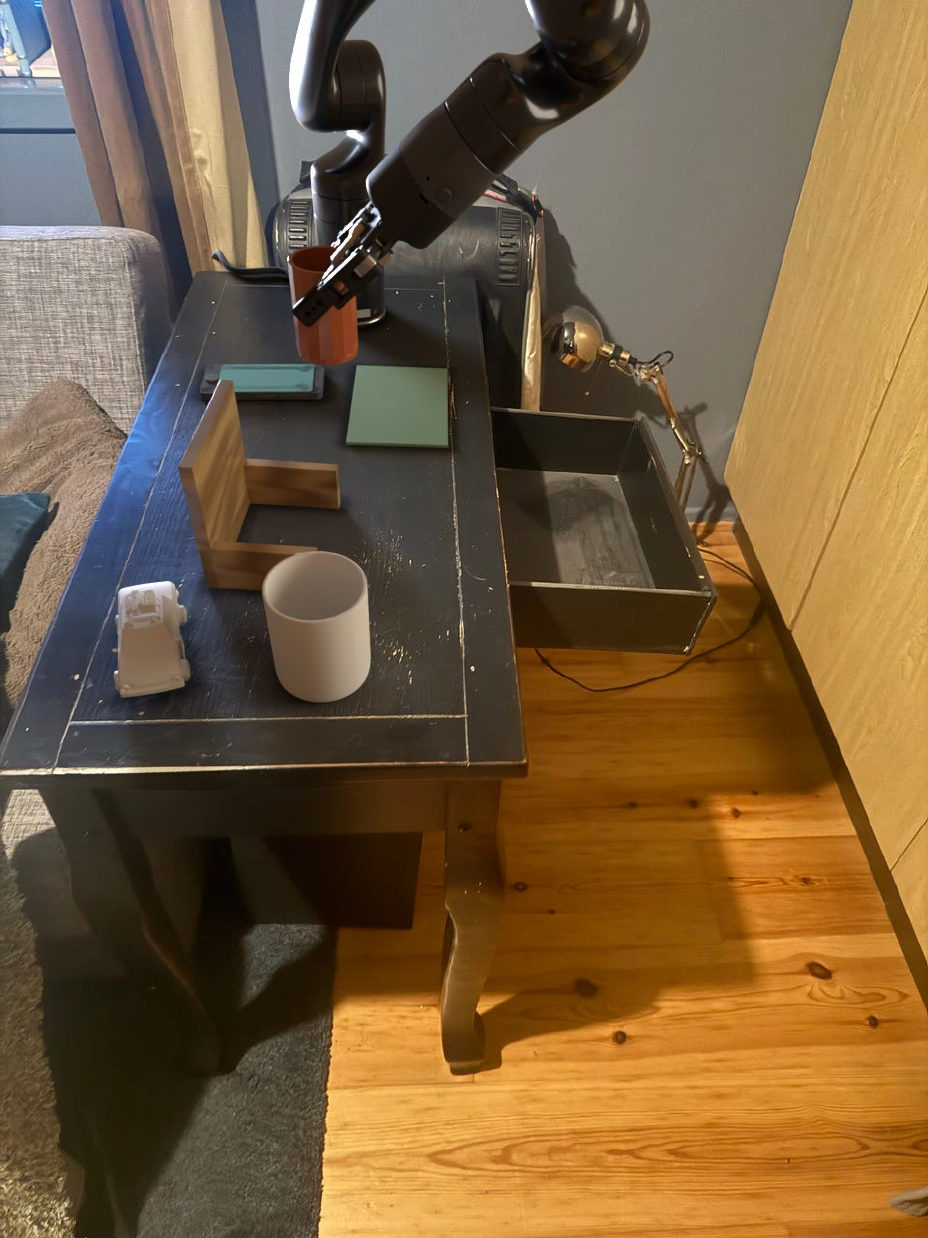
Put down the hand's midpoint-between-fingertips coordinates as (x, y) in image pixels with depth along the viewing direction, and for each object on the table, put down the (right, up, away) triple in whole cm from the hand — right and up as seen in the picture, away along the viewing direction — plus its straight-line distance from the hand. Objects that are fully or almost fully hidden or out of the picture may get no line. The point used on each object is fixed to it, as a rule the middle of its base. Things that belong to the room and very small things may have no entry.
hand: (306, 301), depth 78 cm
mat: (+7, -3, +25) cm, 26 cm away
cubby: (-4, -22, +6) cm, 23 cm away
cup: (+1, -3, +3) cm, 5 cm away
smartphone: (-11, 0, +27) cm, 29 cm away
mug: (+2, -34, -4) cm, 34 cm away
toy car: (-12, -34, -5) cm, 36 cm away
